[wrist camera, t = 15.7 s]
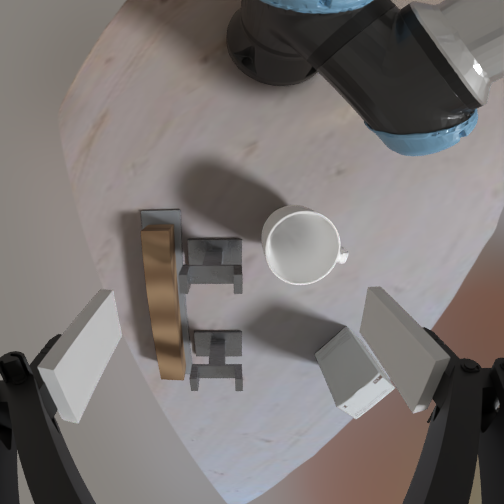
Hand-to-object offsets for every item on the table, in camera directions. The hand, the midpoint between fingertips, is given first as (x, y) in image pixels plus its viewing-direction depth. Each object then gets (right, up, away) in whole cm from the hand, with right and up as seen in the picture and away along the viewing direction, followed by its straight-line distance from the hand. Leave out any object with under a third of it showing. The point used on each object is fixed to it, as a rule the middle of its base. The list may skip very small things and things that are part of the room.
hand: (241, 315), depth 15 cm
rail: (-13, -5, +33) cm, 36 cm away
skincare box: (+17, -14, +38) cm, 44 cm away
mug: (+7, +7, +31) cm, 32 cm away
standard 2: (-5, -13, +36) cm, 38 cm away
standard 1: (-5, +3, +31) cm, 32 cm away
